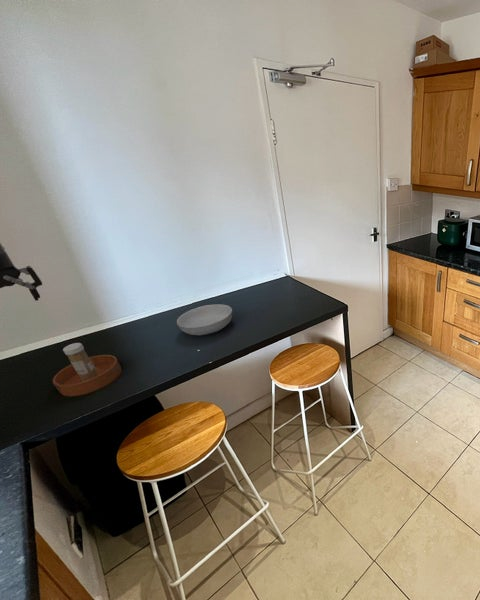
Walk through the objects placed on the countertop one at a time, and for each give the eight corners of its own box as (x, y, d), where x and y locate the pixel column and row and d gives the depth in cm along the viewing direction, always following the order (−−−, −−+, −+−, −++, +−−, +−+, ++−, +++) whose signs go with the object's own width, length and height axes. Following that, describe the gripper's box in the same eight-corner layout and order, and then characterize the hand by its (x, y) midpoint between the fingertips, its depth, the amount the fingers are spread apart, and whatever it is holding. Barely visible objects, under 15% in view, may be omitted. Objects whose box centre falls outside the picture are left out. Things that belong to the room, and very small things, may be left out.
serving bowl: (245, 323, 141) (241, 310, 138) (198, 347, 125) (193, 332, 122) (218, 312, 151) (214, 299, 147) (171, 332, 135) (166, 319, 131)
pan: (63, 404, 98) (55, 393, 96) (56, 381, 108) (50, 371, 106) (126, 377, 109) (121, 367, 107) (116, 359, 119) (111, 349, 117)
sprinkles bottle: (102, 374, 110) (85, 342, 104) (89, 383, 106) (69, 351, 100) (92, 373, 111) (74, 341, 104) (78, 381, 107) (58, 349, 100)
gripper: (-58, 262, 81) (-20, 317, 88) (23, 249, 90) (51, 300, 98) (-56, 257, 85) (-20, 309, 92) (21, 245, 95) (48, 293, 102)
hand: (16, 304), depth 95 cm, fingers open, 8 cm apart
